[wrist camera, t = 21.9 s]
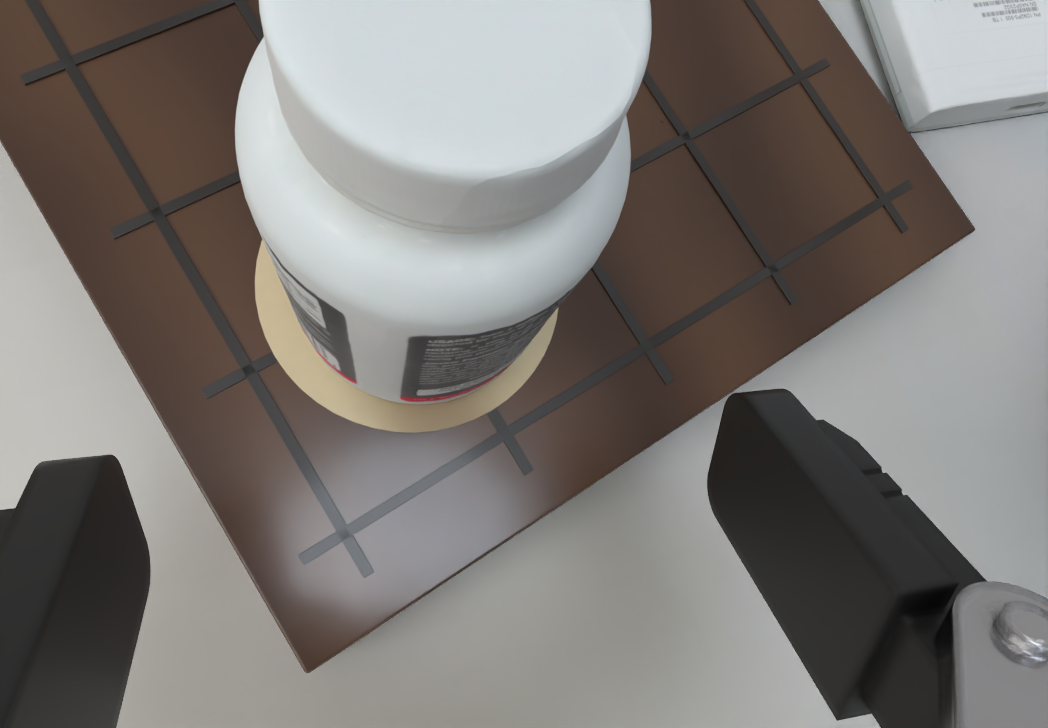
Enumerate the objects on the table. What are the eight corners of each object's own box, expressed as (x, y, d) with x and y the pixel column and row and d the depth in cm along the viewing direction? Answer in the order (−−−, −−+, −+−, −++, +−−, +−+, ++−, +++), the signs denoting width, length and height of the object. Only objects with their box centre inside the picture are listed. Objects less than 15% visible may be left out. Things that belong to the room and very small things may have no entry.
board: (313, 661, 16) (305, 676, 15) (-109, -72, 18) (-156, -127, 16) (936, 249, 21) (979, 228, 20) (570, -290, 23) (584, -347, 21)
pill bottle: (554, 213, 18) (751, -134, 8) (510, 432, 16) (682, 316, 7) (329, 152, 17) (263, -306, 8) (263, 376, 16) (87, 162, 6)
